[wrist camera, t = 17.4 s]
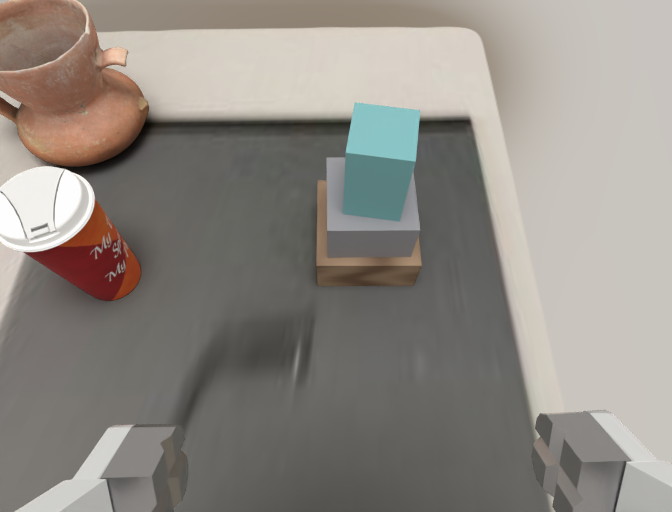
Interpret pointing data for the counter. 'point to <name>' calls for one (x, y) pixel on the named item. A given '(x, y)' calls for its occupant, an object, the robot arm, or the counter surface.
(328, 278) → the walnut base block
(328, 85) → the counter surface
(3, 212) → the paper cup
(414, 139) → the teal block
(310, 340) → the counter surface
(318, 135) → the counter surface
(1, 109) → the ceramic jug
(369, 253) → the grey top block
